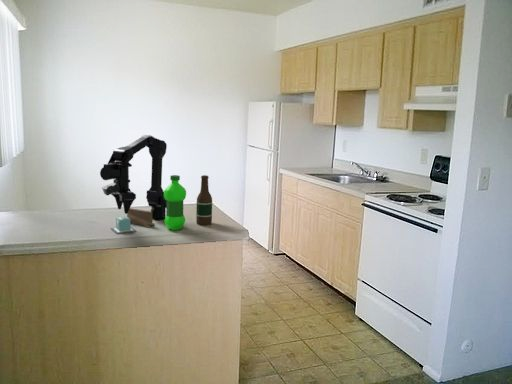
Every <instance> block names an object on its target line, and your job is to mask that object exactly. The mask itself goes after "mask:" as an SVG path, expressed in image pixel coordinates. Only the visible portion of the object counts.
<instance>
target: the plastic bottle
mask: <svg viewBox="0 0 512 384" xmlns="http://www.w3.org/2000/svg"><path fill="white" fill-rule="evenodd" d="M180 179H181V176H180V175H178V174H177V175H175V174H174V175H173V174H172V175H170V179H169V180H170V181H171V183H170V184H169V185H168V186H167V187H165V188H164V190H163V191H164V198H165V199H166V200H167V208H166V214H165V219H163V220H164V225H165V226H166V227H167V228H168V229H169V230H173V231H177V230H180V229H181V228H182V227H184V225H185V224H186V217H185V215H184V200H186V197H187V191H186V190H187V189H186V188H185V187H184V186H183V185H181V184H180V183H179V182H180Z"/></svg>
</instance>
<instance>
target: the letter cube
mask: <svg viewBox="0 0 512 384" xmlns="http://www.w3.org/2000/svg"><path fill="white" fill-rule="evenodd" d="M131 224H132V223H130V219H129V218H128V217H127V216H124V217H123V216H122V217H121V216H120V217H116V218H115V228H116V229H117V230H119V231H126V230H131V227H132V226H131Z"/></svg>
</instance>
